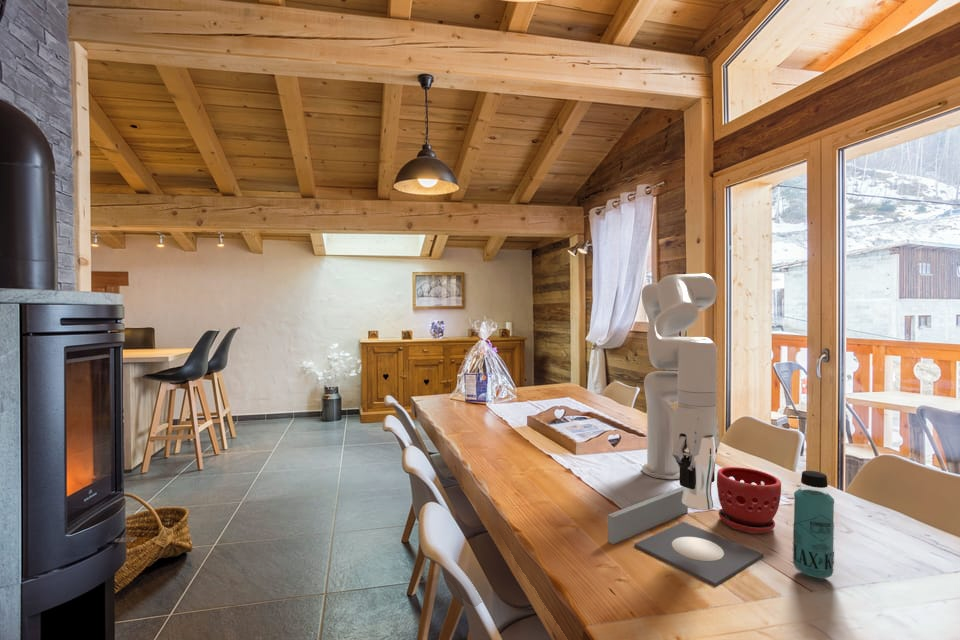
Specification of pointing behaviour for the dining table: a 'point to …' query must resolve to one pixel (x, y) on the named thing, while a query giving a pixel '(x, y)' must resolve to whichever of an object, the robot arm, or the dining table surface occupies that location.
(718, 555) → the dark gray mat
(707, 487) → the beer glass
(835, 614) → the dining table surface
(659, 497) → the low wall
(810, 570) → the beverage bottle
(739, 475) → the plant pot
